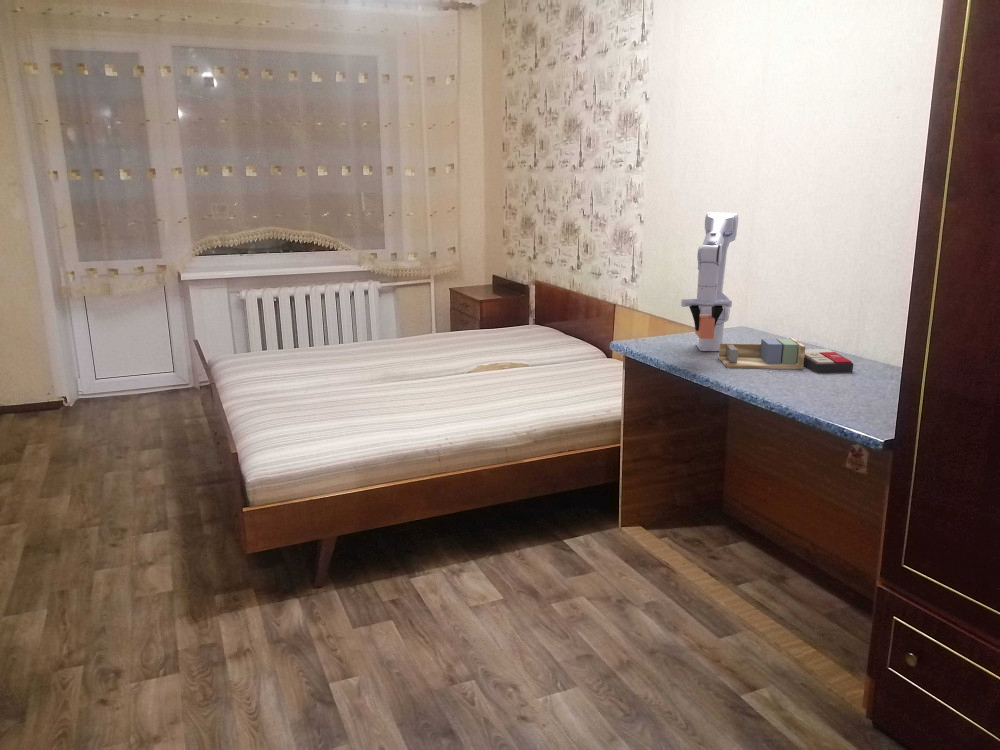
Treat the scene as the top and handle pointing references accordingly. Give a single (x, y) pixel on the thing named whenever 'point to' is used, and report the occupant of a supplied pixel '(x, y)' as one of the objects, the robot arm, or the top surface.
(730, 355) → the bookend
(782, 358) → the book
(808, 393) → the top surface
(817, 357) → the calculator
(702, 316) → the orange rectangular block
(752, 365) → the shelf
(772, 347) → the book
